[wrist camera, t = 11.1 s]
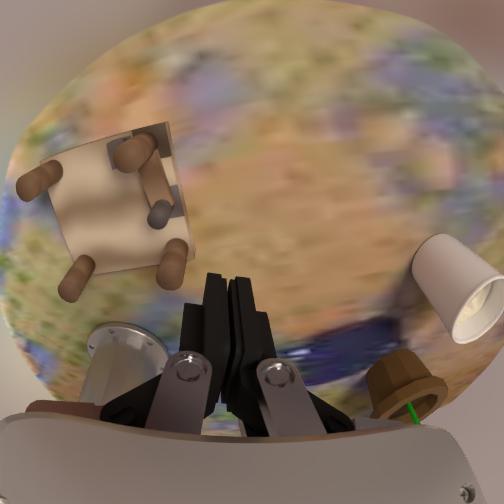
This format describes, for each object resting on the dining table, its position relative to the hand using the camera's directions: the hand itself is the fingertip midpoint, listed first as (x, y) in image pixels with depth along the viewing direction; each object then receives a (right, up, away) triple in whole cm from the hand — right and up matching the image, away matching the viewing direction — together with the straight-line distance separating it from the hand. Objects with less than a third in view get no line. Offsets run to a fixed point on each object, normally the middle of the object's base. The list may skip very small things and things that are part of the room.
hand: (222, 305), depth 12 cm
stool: (-13, +7, +18) cm, 23 cm away
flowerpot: (+26, -19, +37) cm, 49 cm away
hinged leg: (-8, +9, +14) cm, 19 cm away
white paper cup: (+27, +1, +25) cm, 37 cm away
